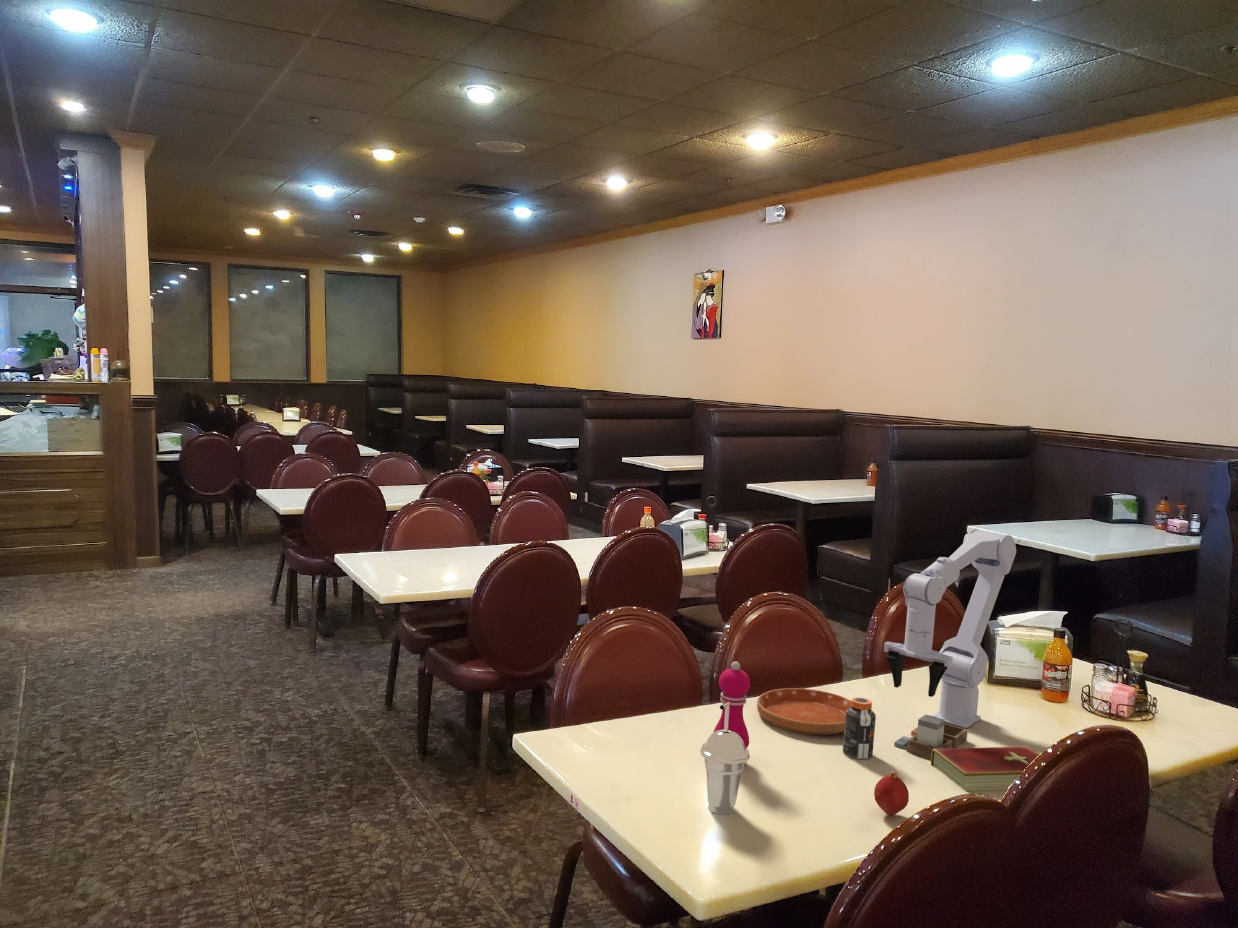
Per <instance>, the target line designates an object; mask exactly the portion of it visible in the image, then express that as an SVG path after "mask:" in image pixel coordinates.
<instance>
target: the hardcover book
mask: <svg viewBox="0 0 1238 928" xmlns="http://www.w3.org/2000/svg"><path fill="white" fill-rule="evenodd" d="M1039 754H1040V753H1039V752H1037V751H1034V750H1033V749H1032V748H1031V747H1028V746H999V747H998V746H997V747H996V746H995V747H993V746H992V747H958V748H949V749H933V750H932V754H931V759H930V766H931V767H934V768H936V769H937V770H938V771H939V772H941V773H942V774H943V775H944V776H946V777H947V778H948V779H949V780H951V781H952V782H953V783H954V784H956V785H957V786H958V787H959V788H960V789H961V790H963V791H964V792H967V791H968V792H971V791H972V792H973V791H998V790H1009V789H1008V787H1009V786H1010V785H1011V784H1012V783H1013V782H1014V780H1016V779H1017V778H1018V777H1019V775H1021V773H1022V772H1023V771H1024V769H1026V767H1027V766H1028V765H1029V764H1030V763H1031V762H1032V761H1033V760H1034V759H1035V758H1036V757H1037V756H1039Z"/></svg>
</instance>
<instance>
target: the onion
mask: <svg viewBox="0 0 1238 928" xmlns="http://www.w3.org/2000/svg"><path fill="white" fill-rule="evenodd" d="M873 795H874V801H875V803H876V804H877V806H878V807H879V808H880V810H882V811H883V812H884V813H885V814H886V815H887V816H888V815H889V816H890V817H892V816H895V815H896V814H898V813H900V812H901V811H904V809H906V807H907V806H908V804H909V802H910V801H909V799H910V798H909V797H910V795H909V789H908V787H907V785H906V783H905V782H904V781H903V780H902V778H900V777H899V776H898V775H897V772H896V771H891V772H890V773H889V774H887V775H884V776H883V777H882V778H880V779H879V780H878V781H877V782H876V784H875V787H874V791H873ZM889 816H888V817H889Z"/></svg>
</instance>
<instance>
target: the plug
mask: <svg viewBox="0 0 1238 928" xmlns="http://www.w3.org/2000/svg"><path fill="white" fill-rule="evenodd" d="M933 716H934V715H933ZM933 716H932V715H930V714H924V715H923V716H921V717H920V718H918V720H917V727H918V730H917V742H920V743H924V744H927V745H930V746H934V747H937V748H939V747H941V746H942V745H943V734H944V723H946V722H945V720H944V719H940V718H937V717H933Z"/></svg>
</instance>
